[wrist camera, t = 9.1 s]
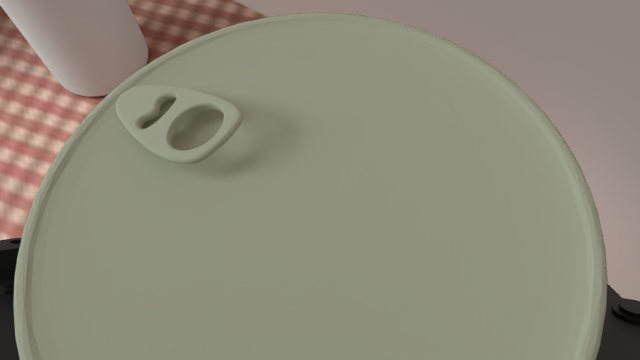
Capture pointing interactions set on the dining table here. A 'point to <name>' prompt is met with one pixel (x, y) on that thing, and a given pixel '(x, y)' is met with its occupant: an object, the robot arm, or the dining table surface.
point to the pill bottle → (82, 41)
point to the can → (313, 209)
